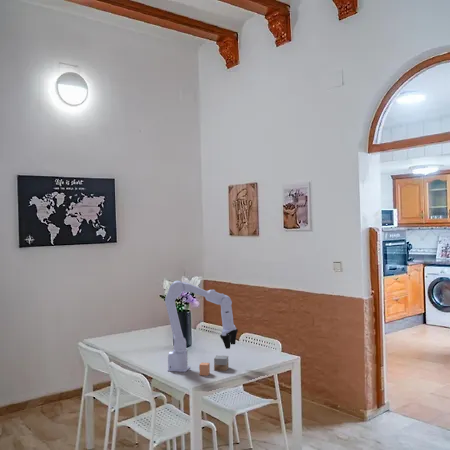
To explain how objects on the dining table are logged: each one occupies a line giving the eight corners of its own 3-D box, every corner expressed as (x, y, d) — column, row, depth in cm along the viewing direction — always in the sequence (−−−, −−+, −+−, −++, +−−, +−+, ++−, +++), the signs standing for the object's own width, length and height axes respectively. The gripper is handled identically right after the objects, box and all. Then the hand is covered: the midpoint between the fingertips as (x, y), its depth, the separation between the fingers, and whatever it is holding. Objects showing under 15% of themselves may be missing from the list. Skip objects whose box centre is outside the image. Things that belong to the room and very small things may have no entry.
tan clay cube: (199, 375, 233) (199, 364, 233) (201, 372, 237) (201, 362, 237) (207, 375, 232) (207, 365, 232) (209, 373, 236) (209, 362, 236)
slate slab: (214, 364, 240) (214, 358, 240) (216, 361, 246) (216, 355, 246) (226, 365, 239) (226, 359, 239) (228, 361, 245) (228, 355, 245)
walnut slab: (214, 370, 240) (214, 364, 240) (216, 367, 246) (216, 361, 246) (226, 371, 239) (226, 365, 239) (228, 367, 245) (228, 361, 245)
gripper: (229, 322, 237) (233, 350, 237) (239, 316, 250) (242, 342, 250) (216, 323, 239) (219, 350, 239) (227, 316, 253) (230, 342, 253)
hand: (230, 346), depth 245 cm, fingers open, 7 cm apart
